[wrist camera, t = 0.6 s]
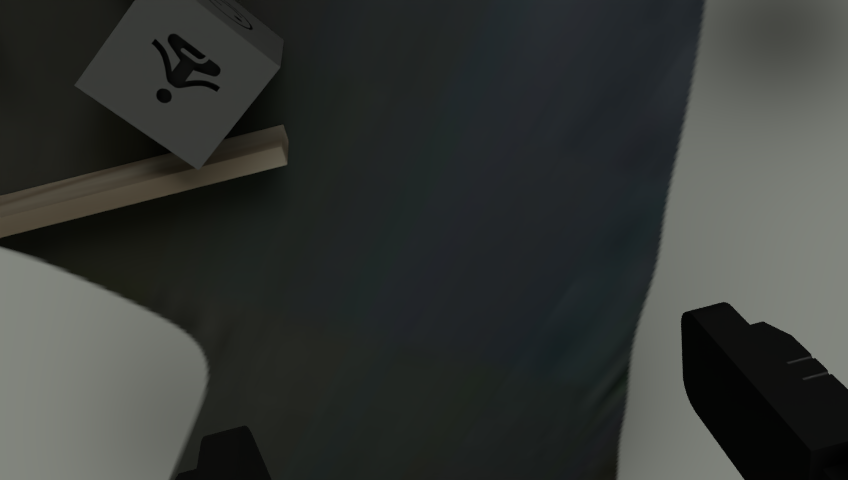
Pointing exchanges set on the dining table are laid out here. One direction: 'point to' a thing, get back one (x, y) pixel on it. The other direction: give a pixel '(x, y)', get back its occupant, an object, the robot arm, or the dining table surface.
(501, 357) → the dining table surface
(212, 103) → the dice cube
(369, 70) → the dining table surface
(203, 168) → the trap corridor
